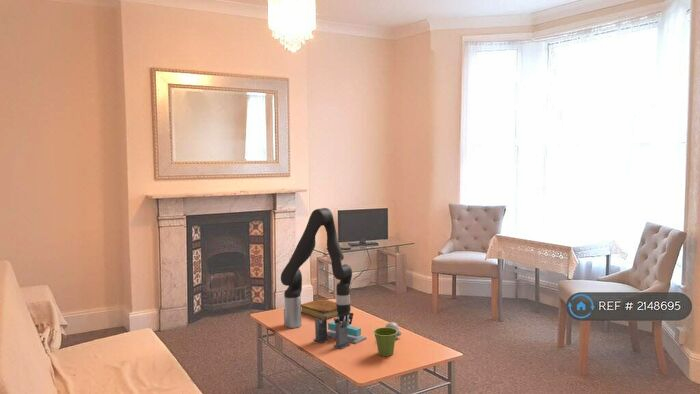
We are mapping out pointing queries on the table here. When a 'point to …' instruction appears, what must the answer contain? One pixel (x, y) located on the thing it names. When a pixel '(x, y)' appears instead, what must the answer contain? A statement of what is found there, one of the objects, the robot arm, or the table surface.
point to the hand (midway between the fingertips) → (344, 333)
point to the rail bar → (350, 329)
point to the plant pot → (385, 340)
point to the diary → (320, 309)
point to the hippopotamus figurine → (395, 326)
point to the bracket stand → (340, 330)
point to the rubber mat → (349, 337)
